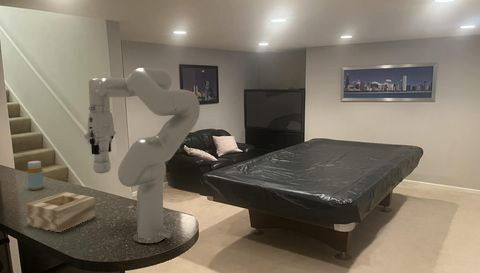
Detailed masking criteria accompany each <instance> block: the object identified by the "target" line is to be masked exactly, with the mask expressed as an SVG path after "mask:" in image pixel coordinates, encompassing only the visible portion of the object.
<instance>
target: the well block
mask: <svg viewBox="0 0 480 273" xmlns="http://www.w3.org/2000/svg"><path fill="white" fill-rule="evenodd" d="M95 201H96V199H95V197H93V196H89V195H83V194H79V193H72V192H68V191H67V192H66V191H63V192H59V193H57V194H54V195H50V196H46V197H44V198H40V199H37V200H33V201H31V202H28V203H25V213H26V225H27V226H29V227H33V228H36V227H37V229H40V228H42V229H41V230H44V229H45V231H48V230H50V231H49V232H52V231H54V232H53V233H56V232H61V233H63V232H65V231H67V230H66V229H68V230H70V229H72V228H75V227H77V226H79V225H81V224H83V223H82V222H84V223H85V221H86V222H88V221H90V220H93V219H94V217H95V218H96V208H95V207H96V206H95V205H96V204H95V203H96V202H95ZM92 218H93V219H92ZM87 220H88V221H87ZM80 223H81V224H80ZM78 224H79V225H78ZM76 225H77V226H76ZM71 227H72V228H71ZM69 228H70V229H69ZM64 230H65V231H64ZM62 231H63V232H62Z"/></svg>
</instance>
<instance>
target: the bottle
mask: <svg viewBox="0 0 480 273" xmlns="http://www.w3.org/2000/svg"><path fill="white" fill-rule="evenodd" d="M43 172H44V171H43V168H42V161H41V160H32V161H27V186H28V190H29V191H40V190H42V189H43V188H44V173H43Z"/></svg>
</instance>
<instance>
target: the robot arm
mask: <svg viewBox="0 0 480 273" xmlns="http://www.w3.org/2000/svg"><path fill="white" fill-rule="evenodd" d="M172 81H173V80H172V76H171V74H170V73H169V72H167V71H166V70H165V69H161V68H151V67H137V68H136V69H134V70H133V71H132V72H131V73H130V74H129V75H128V76H127V78H126V77H125V78H124V77H123V78H122V77H121V78H120V77H99V78H95V77H94V78H93V77H92V78H90V79H89V80H88V95H89V96H88V98H89V99H88V100H89V107H88V111H89V113H88V119H87V132H86V134H85V136H84V139H85V140H87V142H88V143H89V145H90V147H91V148H90V149H91V154H92V155H94V156H95V155H98V154H99V148H98V145H97V142H98V138H103V137H105V136H109V137H110V141H109V153H111V152H112V142H113V139H114V138H115V135H116V134H117V133H116V130H115V124H114V118H113V117H114V116H113V114H112V113H113V112H111V106H110V105H111V104H110V103H111V102H110V99H111V98H130V97H138V98H139V99H140V101H141V102H142V103H143V104H144V105H145V106H146V107H147V108H148V109H149V111H151V112H152V113H153V114H155V115H157V116H160V117H162V116H163V117H167V116H172V117H171V118H170V119H168V120H167V121H166V122H165V123H164V124H163V125H162V128H161V129H160V130H159V132H158V133H157V134H156V135H153V136H149V137H143V138H139V139H138V140H135V142H133V143H132V145H130V147H129V149H128V151H127V152H126V154H125V156H124V157H123V159H122V160H121V162H120V165H119V167H118V170H117V176H118V178H117V179H118V180H119V182H120V183H121V185H123V186H124V187H129V188H132V187H133V188H134V187H137V191H136V219H137V220H136V221H137V227H136V228H137V232H138V237H140V238H144V239H147V238H158V237H160V238H161V237H164V238H166V239H168V238H169V237H170V238H171V235H172V230H168V229H167V225H165V224H164V182H165V181H164V180H165V174H166V167H167V166H166V162H168V161H169V160H171V159H172V157H173V156H174V155H175V153H176V152H177V151H178V149H179V148H180V147H181V145H182V143H183V142H184V140H186V138H187V136H188V135H189V133H191V131H192V130H193V129H194V127H195V125H196V124H197V122H198V120H199V116H200V114H201V113H200V111H201V110H200V109H201V107H200V106H201V105H200V101H199V98H198V96H197V95H196V94H195V92H194V93H193V92H192V91H191V90H187V89H181V88H179V89H177V88H175V89H174V88H172V89H171V87H172ZM94 139H95V141H94ZM170 238H169V239H170Z"/></svg>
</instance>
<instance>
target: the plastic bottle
mask: <svg viewBox="0 0 480 273" xmlns="http://www.w3.org/2000/svg"><path fill="white" fill-rule="evenodd" d="M94 141H95V139H94ZM109 141H110V137H109V136H105V137H103V138H98V142H97V145H98V148H99V154H98V155H94V157H93V159H94V160H93V164H92V165H93V167H92V169H93V171H94V173H96V174H106V173H110V171H111V167H112V165H111V162H110V154H109V153H110V152H109Z"/></svg>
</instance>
